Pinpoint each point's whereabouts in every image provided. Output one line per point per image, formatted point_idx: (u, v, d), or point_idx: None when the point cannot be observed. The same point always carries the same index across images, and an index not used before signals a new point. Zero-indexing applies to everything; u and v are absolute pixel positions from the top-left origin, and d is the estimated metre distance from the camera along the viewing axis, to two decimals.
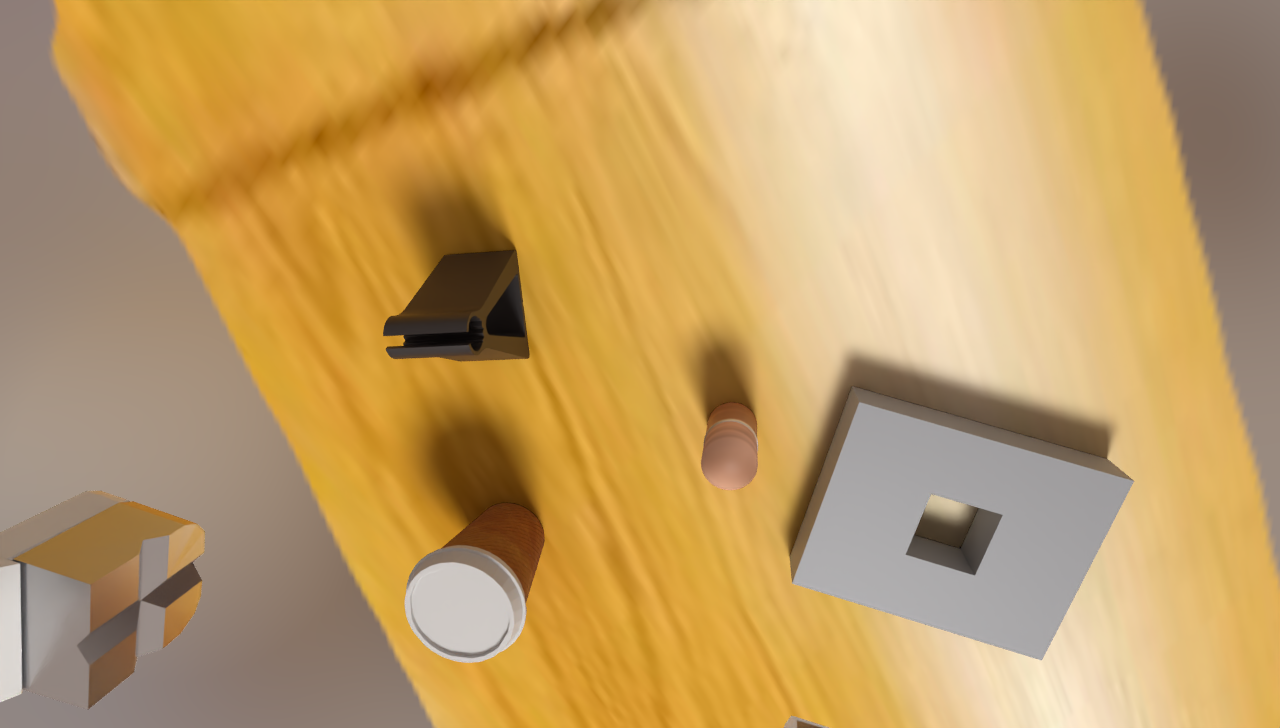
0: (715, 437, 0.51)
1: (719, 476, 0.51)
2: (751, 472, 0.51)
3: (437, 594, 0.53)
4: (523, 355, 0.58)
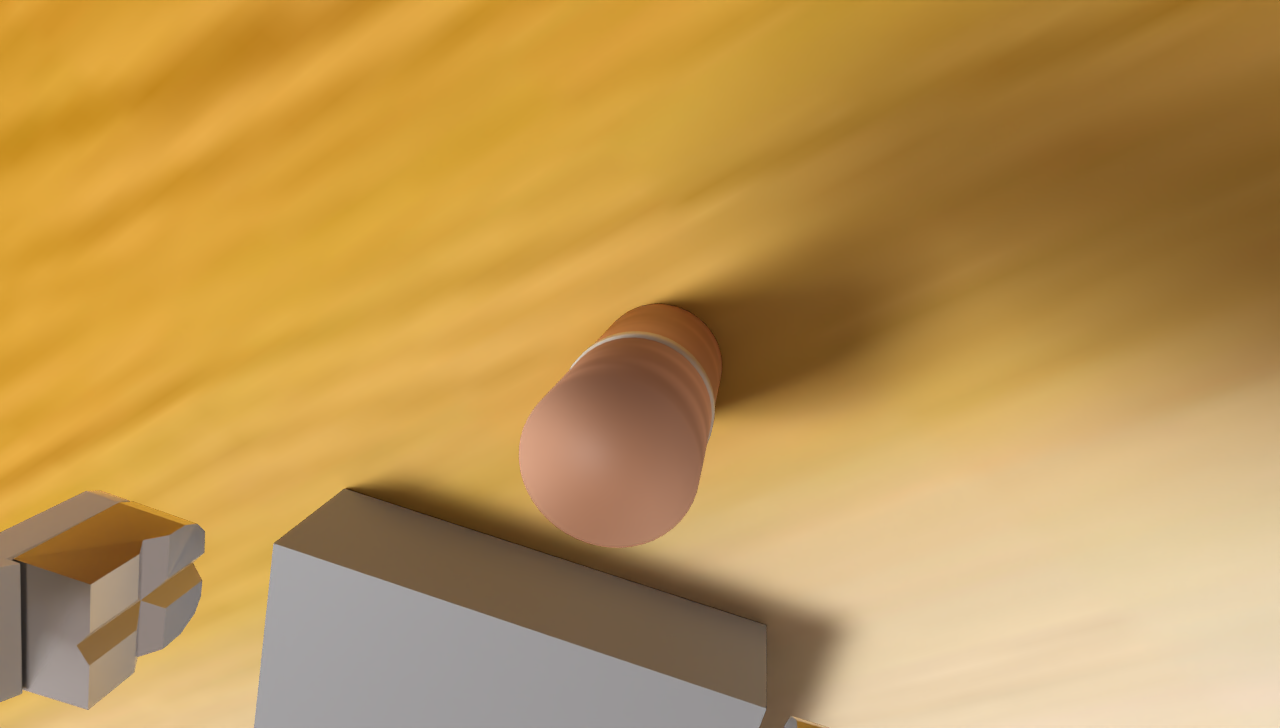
0: (690, 412, 0.16)
1: (561, 431, 0.15)
2: (585, 528, 0.16)
3: None
4: None
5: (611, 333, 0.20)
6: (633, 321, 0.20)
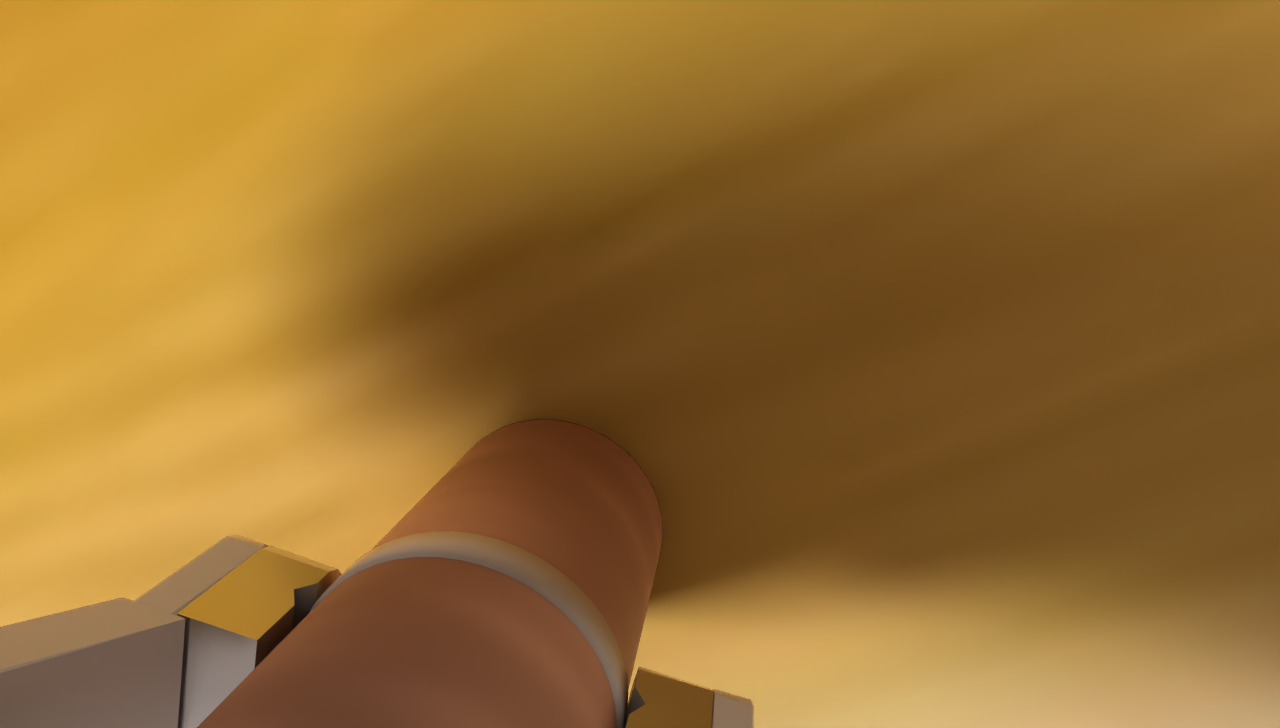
0: None
1: None
2: None
3: None
4: None
5: (416, 518, 0.09)
6: (473, 481, 0.10)
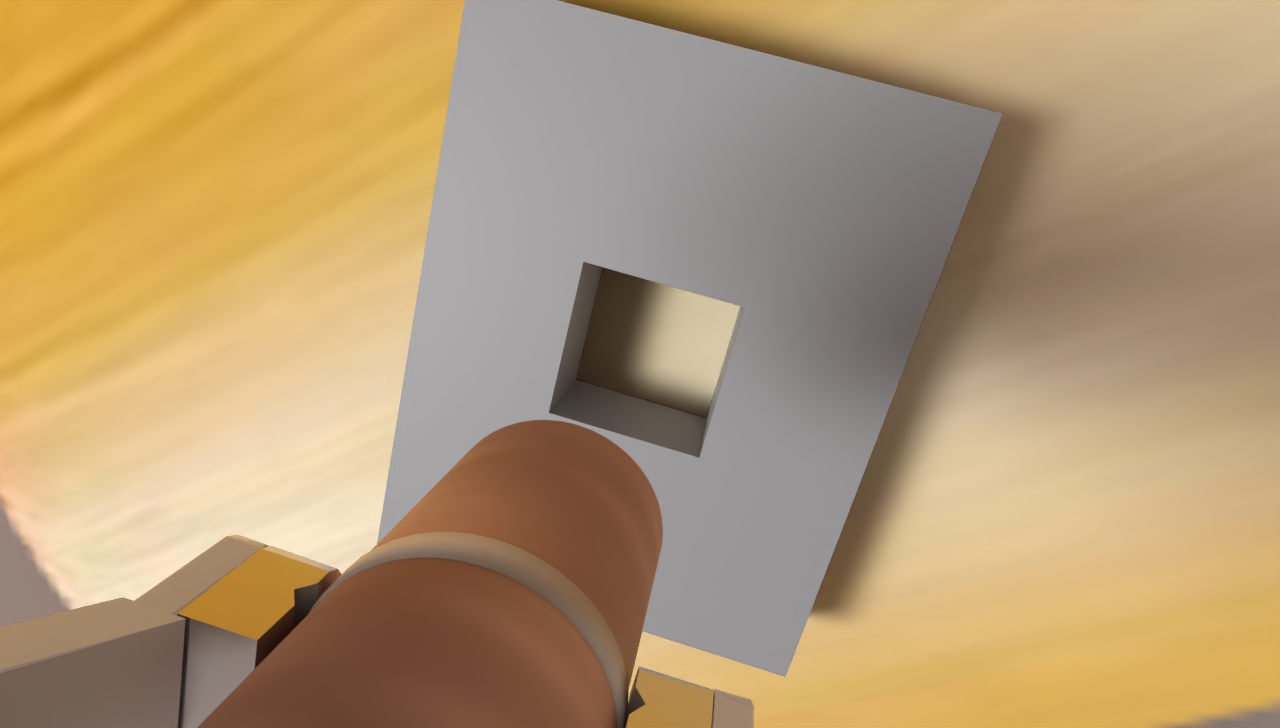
0: None
1: None
2: None
3: None
4: None
5: (416, 518, 0.09)
6: (473, 481, 0.10)
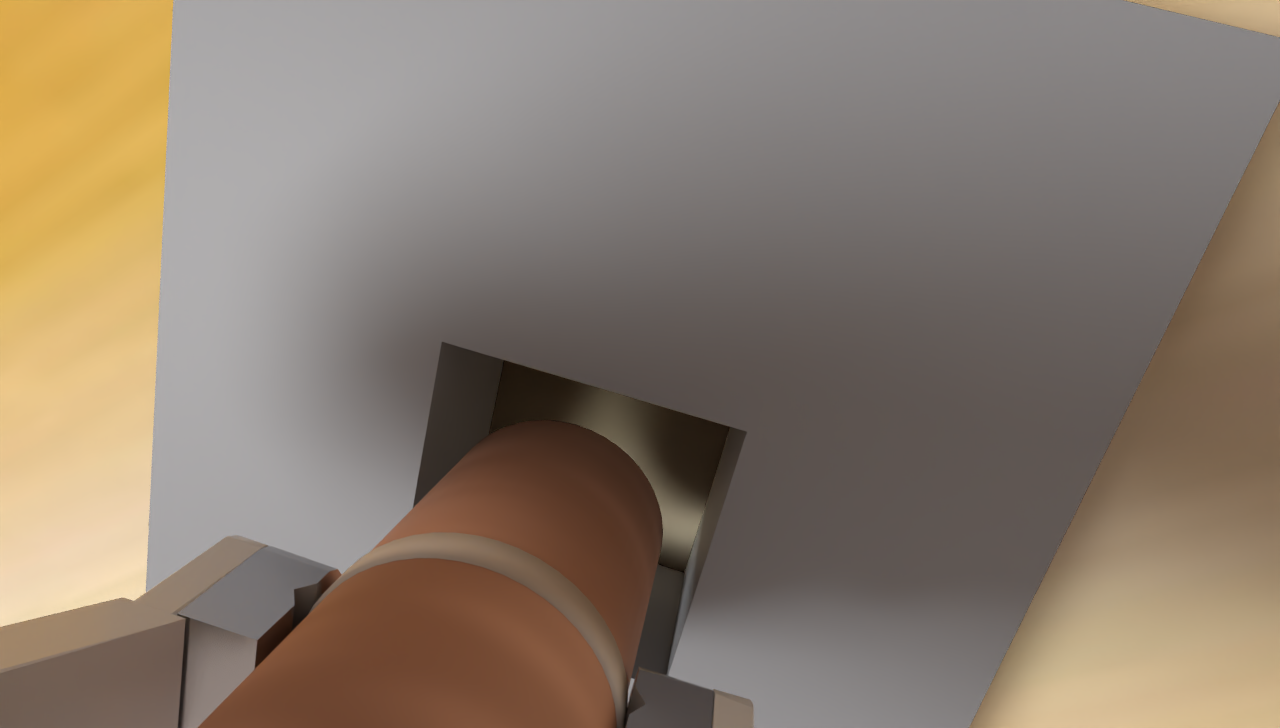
0: None
1: None
2: None
3: None
4: None
5: (415, 519, 0.09)
6: (472, 482, 0.10)
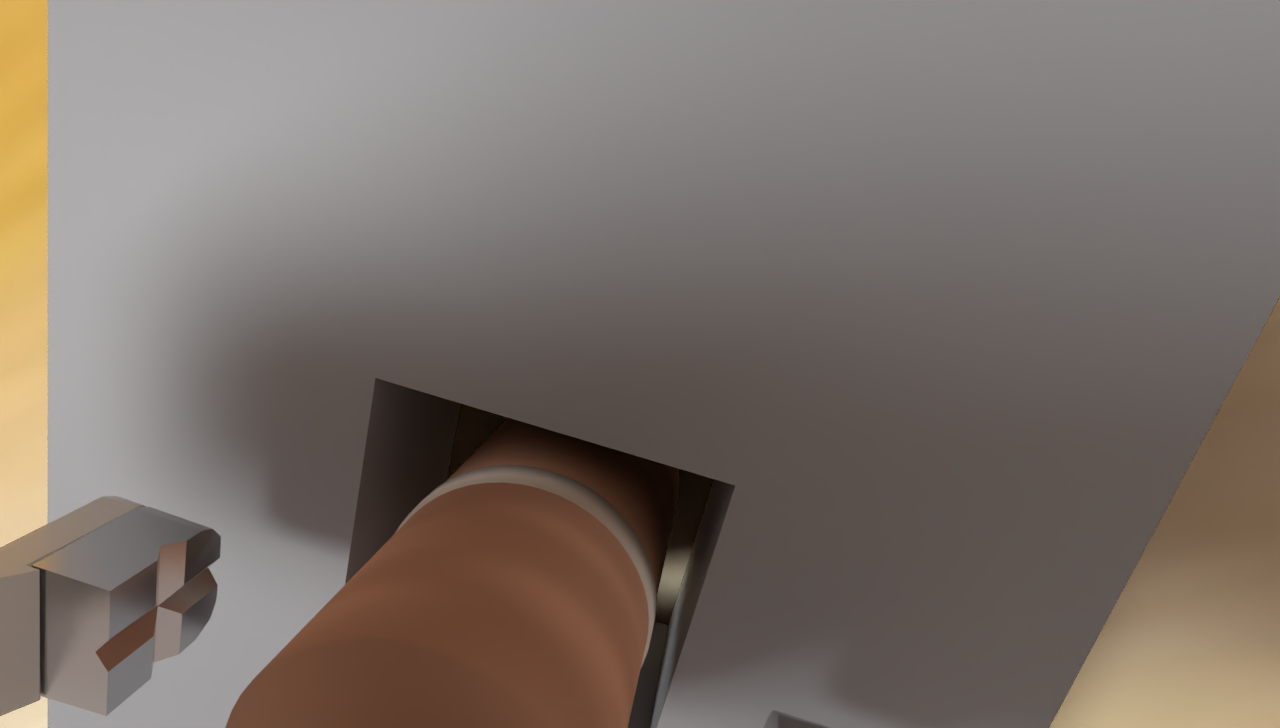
0: (584, 689, 0.07)
1: None
2: None
3: None
4: None
5: (479, 459, 0.11)
6: (523, 431, 0.12)
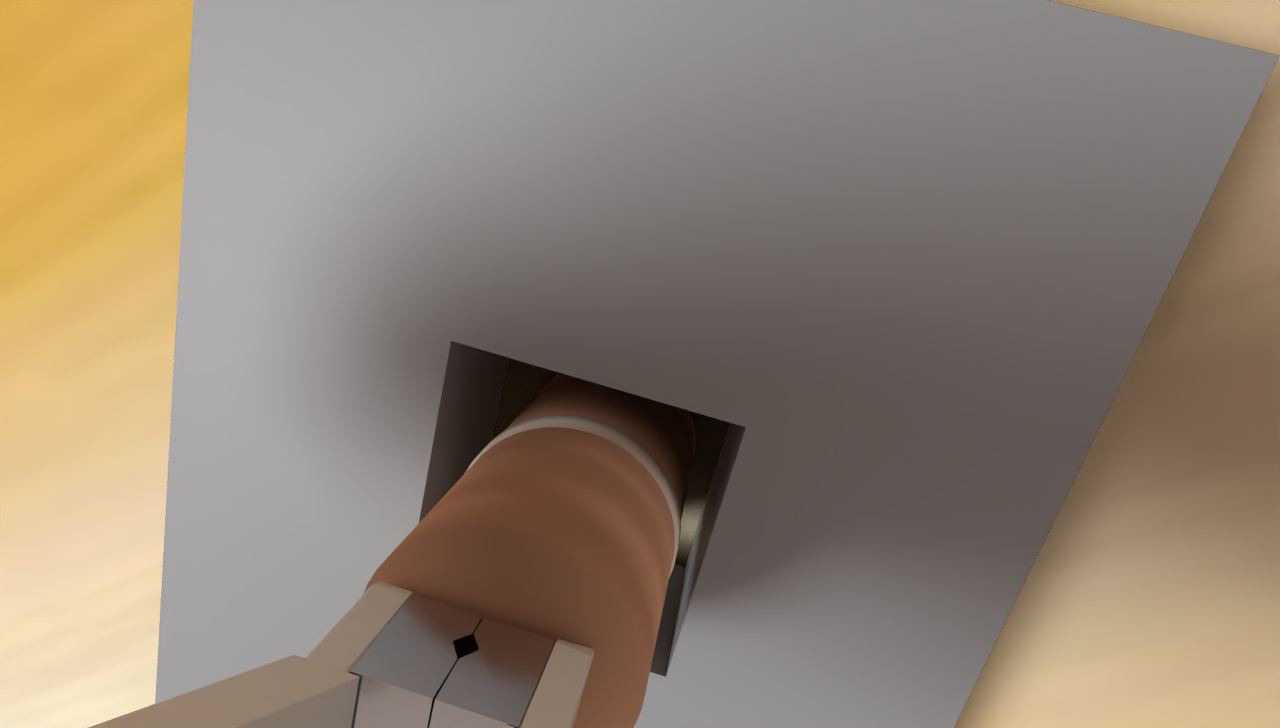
0: (634, 573, 0.10)
1: None
2: None
3: None
4: None
5: (533, 412, 0.14)
6: (567, 391, 0.14)
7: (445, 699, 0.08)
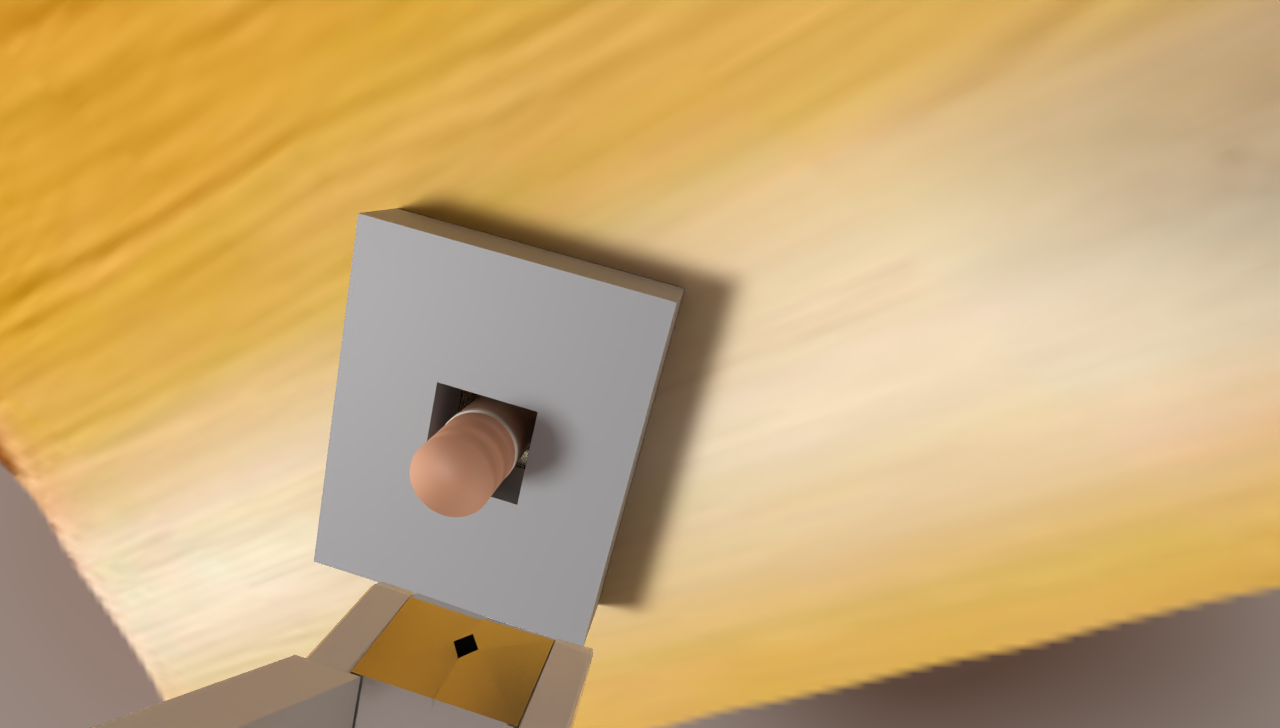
0: (490, 453, 0.33)
1: (428, 463, 0.33)
2: (441, 508, 0.34)
3: None
4: None
5: (467, 407, 0.37)
6: (482, 399, 0.38)
7: (444, 699, 0.08)
